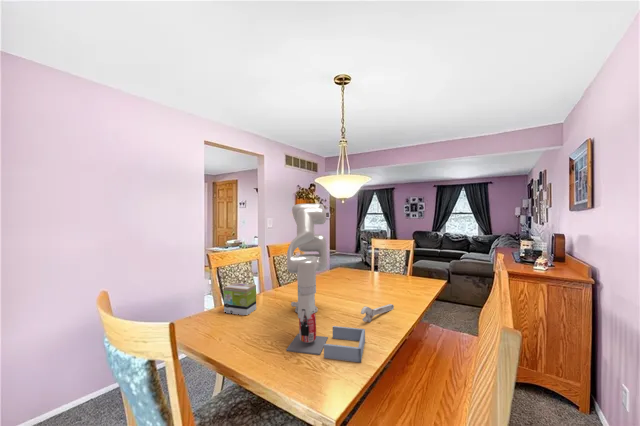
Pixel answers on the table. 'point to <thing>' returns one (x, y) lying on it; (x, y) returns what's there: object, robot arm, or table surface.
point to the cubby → (346, 351)
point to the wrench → (375, 311)
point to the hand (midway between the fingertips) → (307, 330)
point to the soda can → (311, 329)
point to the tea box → (240, 298)
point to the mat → (307, 345)
